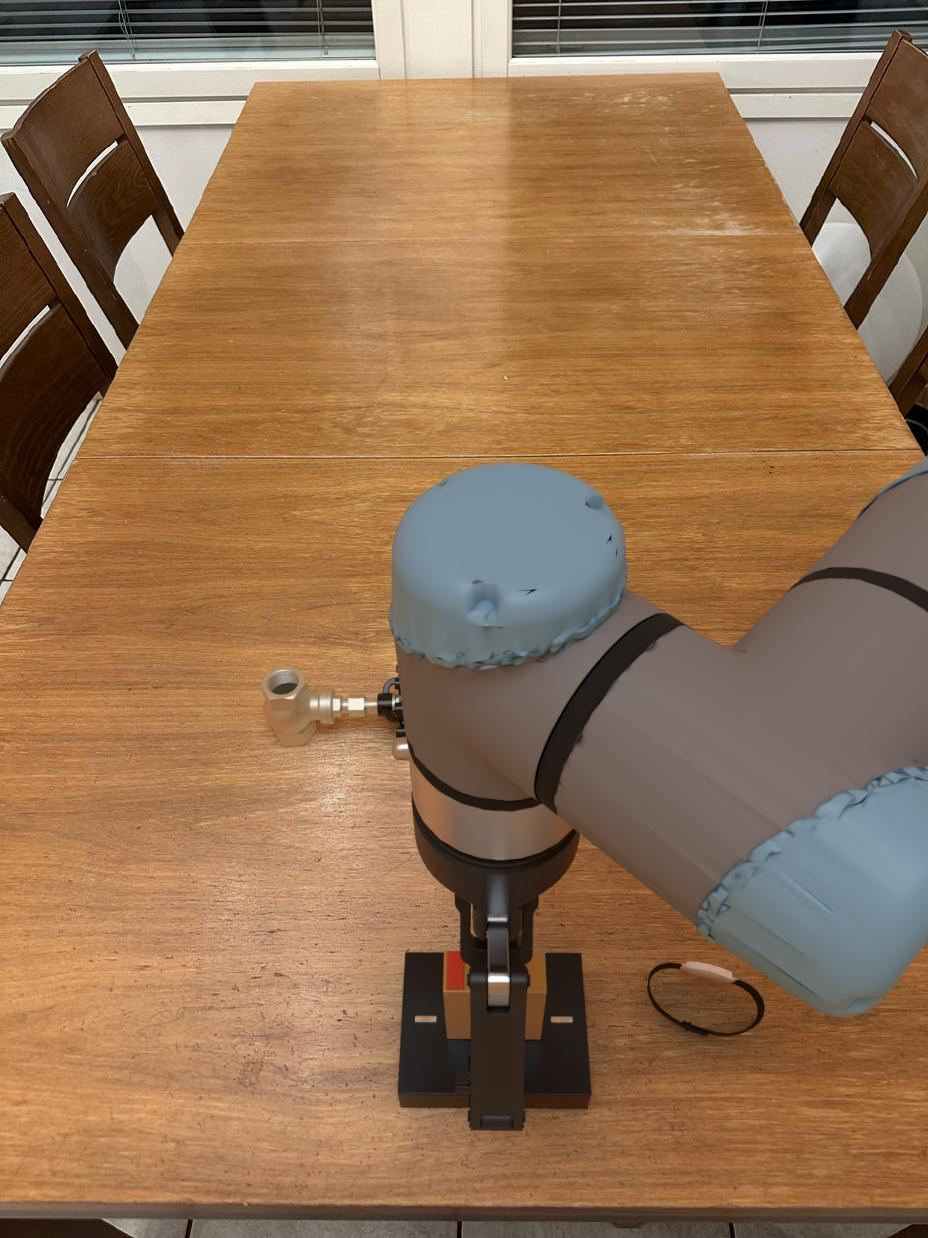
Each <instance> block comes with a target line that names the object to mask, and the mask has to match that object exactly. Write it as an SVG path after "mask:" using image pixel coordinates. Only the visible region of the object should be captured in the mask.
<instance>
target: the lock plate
mask: <svg viewBox="0 0 928 1238" xmlns="http://www.w3.org/2000/svg"><path fill="white" fill-rule="evenodd" d="M545 963H546V984H547V995H546V1003H545V1010H544V1018H543V1026H542V1033H541V1039H540V1040H536V1039H525V1063H524V1102H523V1108H524V1110H525V1109H527V1110H529V1109H531V1110H533V1109H535V1110H536V1109H539V1110H543V1109H544V1110H588V1109H589V1106H590V1103H591V1100H592V1099H591V1098H592V1096H593V1095H592V1091H593V1090H592V1081H591V1080H592V1079H591V1068H590V1067H591V1065H590V1052H589V1039H588V1037H589V1036H588V1027H587V1026H588V1025H587V1013H586V1011H587V1010H586V1000H585V984H584V972H583V971H584V970H583V957H582V952H545ZM403 964H404V966H403V968H404V969H403V982H402V984H403V985H402V1001H401V1003H402V1005H401V1018H400V1019H401V1020H400V1021H401V1022H400V1039H399V1056H398V1057H399V1058H398V1075H397V1076H398V1078H397V1098H398V1102H399V1106H400V1108H402V1109H403V1108H404V1109H406V1108H407V1109H408V1108H410V1109H412V1108H413V1109H414V1108H415V1109H469V1100H468V1093H455V1075H456V1071H460V1072H468V1055H471V1039H447V1032H446V1020H445V1008H444V997H443V973H444V951H405V952H404V963H403Z"/></svg>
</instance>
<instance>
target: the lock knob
mask: <svg viewBox="0 0 928 1238" xmlns="http://www.w3.org/2000/svg"><path fill="white" fill-rule="evenodd" d="M443 952H444V973H443V997H444V1008H445V1020H446V1032H447V1039H471V1024H470V988H469V986H467V974H469V968H470V966H469V965H468V964H466V963H465V962H463V961H462V959H461V956H460V950H444V951H443ZM545 953H546V952H545V950H533V956H532V959H531V961H530V962H529V963H527V964H526V966H527V969H528V973H529V974H530V977H531V986H530V987H528V989H527V1003H526V1024H525V1039H536V1040H540V1039H541V1033H542V1026H543V1018H544V1010H545V1003H546V995H547V984H546V963H545Z"/></svg>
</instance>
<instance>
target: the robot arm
mask: <svg viewBox="0 0 928 1238" xmlns="http://www.w3.org/2000/svg"><path fill="white" fill-rule="evenodd" d="M392 540H393V541H392V546H391V590H390V591H391V598H390V599H391V601H390V604H389V608H388V619H387V621H388V624H389V630H390V632H391V634H392V636H393V639H394V648H395V654H396V665H398V673H397V675H398V674H399V682H400V691H401V700H402V709H403V717H404V726H405V732H406V737H400V738H396V737H395V739H394V740H393V741H392V748H391V754H392V757H393V758H394V759H395V760H396V761H407V762H409V775H410V784H411V785H410V786H411V793H410V794H411V797H410V798H411V810H412V820H413V831H414V832H413V833H414V839H415V844H416V848H417V852H418V854H419V857H420V858H421V861H422V862H423V864H424V866H425V868H426V869H427V870H428V872H429V873H430V875H432V877H433V878H434V879H435V880H436V881H437V882H438V883H439V884H441V885H442V886H443V887H444V888H446V889H447V890H448V891H449V892H451V893H453V894H454V907H455V909H456V910H457V912H458V913H459V951H460V956H461V959H462V961H463V962H465V963H466V964H468V965H469V966H470V968H469V974H467V986H469V988H470V1024H471V1055H468V1072H460V1071H456V1075H455V1093H468V1100H469V1108H468V1109H467V1123H468V1124H469V1125H468V1129H470V1131H471V1132H472V1131H473V1132H474V1131H475V1132H480V1131H481V1132H484V1131H486V1132H523V1131H524V1129H525V1123H527V1114H526V1113H527V1112H526V1110H525V1109H524V1108H523V1102H524V1063H525V1024H526V1003H527V989H528V987H530V986H531V977H530V974H529V973H528V969H527V966H526V964H527V963H529V962H530V961H531V959H532V956H533V951H534V913H535V912H536V911H537V909H538V908H539V903H540V899H539V897H540V896H541V895H542V894H544V893H546V892H547V891H548V890H550V889H551V888H552V887H554V886H555V885H556V884H557V883H558V882H559V881H560V880H561V879H562V878H563V877H564V875H565V874H566V873H567V871H569V869H570V868H571V866H572V864H573V862H574V859H575V857H576V855H577V852H578V849H579V844H580V839H581V836H582V837H583V838H585V839H586V840H587V841H588V842H590V843H591V844H592V845H593V846H595V847H596V849H598V850H600V851H601V852H602V853H603V854H604V855H606V856H607V857H609V858H610V859H611V860H612V861H614V862H615V863H616V864H618V866H620V867H621V868H622V869H624V870H625V871H626V872H627V873H629V874H630V875H631V876H632V877H633V878H634V879H636V880H637V881H639V882H640V883H641V884H642V885H644V886H645V887H646V888H647V889H649V891H651V892H653V894H655V895H656V896H657V897H659V898H660V899H661V900H662V901H664V902H665V903H666V904H668V905H669V906H670V907H671V908H673V910H675V911H676V912H678V914H680V915H681V916H683V917H684V918H685V919H686V920H688V921H689V922H690V923H692V925H694V926H695V930H696V931H697V932H698V933H699V934H700V935H701V936H702V937H703V938H704V939H705V940H706V941H707V942H708V943H710V944H712V945H714V946H722V947H723V948H724V949H726V950H727V951H728V952H730V953H732V954H733V955H734V956H736V957H738V958H739V959H740V960H742V961H743V962H745V963H746V964H747V965H749V966H750V967H752V968H754V969H755V970H756V971H758V972H759V973H760V974H762V975H764V976H765V977H767V978H768V979H770V980H771V981H773V983H775V984H777V985H778V986H779V987H781V988H783V989H784V990H785V991H787V992H788V993H790V994H791V995H792V996H794V997H795V998H797V999H798V1000H800V1001H802V1002H803V1003H804V1004H806V1005H807V1006H809V1007H810V1008H811V1009H813V1010H814V1011H816V1012H819V1013H821V1014H824V1015H826V1016H828V1017H834V1018H841V1019H843V1018H844V1019H845V1018H850V1017H856V1016H861V1015H862V1014H864V1013H867V1012H869V1011H870V1010H872V1009H873V1008H875V1007H876V1006H877V1005H878V1004H879V1003H880V1002H881V1001H882V1000H883V999H884V998H885V997H886V996H887V995H888V993H889V992H890V991H891V990H892V989H893V987H894V986H895V985H896V984H897V982H898V981H900V979H901V977H902V976H903V975H904V973H906V972H907V970H908V969H909V967H910V966H911V964H912V963H913V962H914V960H915V959H916V958H917V956H918V955H919V954H920V953H921V951H922V950H923V948H924V947H925V945H927V943H928V455H926V456H924V458H922V459H920V460H919V461H918V462H916V464H914V466H912V467H911V468H910V469H908V470H907V471H906V472H905V473H904V474H902V475H901V476H900V477H897V478H896V479H894V480H892V482H890V483H889V484H887V485H886V486H884V487H883V488H882V489H881V490H879V492H878V493H876V494H875V495H874V496H873V497H872V498H871V499H870V501H869V502H868V503H867V504H866V505H865V506H864V507H863V508H862V509H861V510H860V511H859V512H858V515H857V516H856V519H855V520H854V521H853V523H852V524H851V525H850V526H849V527H848V528H847V530H845V532H843V534H842V535H841V536H840V537H839V538H838V539H837V540H836V541H835V542H834V543H833V544H832V545H831V546H830V547H829V548H828V549H827V551H825V552H824V553H823V554H822V555H821V557H820V558H819V559H818V560H817V561H816V562H815V563H814V564H813V565H812V566H811V567H810V568H809V569H808V570H807V572H805V574H804V575H803V576H802V577H801V578H799V580H798V581H797V582H796V583H794V584H793V585H792V586H791V587H790V588H789V589H788V590H787V591H786V592H785V593H784V594H782V596H781V597H780V598H779V599H778V600H777V601H775V603H774V604H773V605H772V606H771V607H770V608H769V609H768V610H767V611H766V612H765V613H764V614H763V615H762V616H761V617H760V618H759V619H758V620H757V621H756V623H754V624H753V625H752V626H751V627H750V628H749V629H748V630H747V631H746V633H744V634H743V636H741V637H740V638H739V639H738V641H736V642H735V643H734V645H733V646H731V648H729V647H727V646H725V645H723V644H721V643H719V642H717V641H715V640H713V639H711V638H709V637H707V636H706V635H703V634H701V633H700V632H698V631H696V630H695V629H694V628H693V627H692V626H690V625H688V624H686V623H684V622H683V621H681V620H679V619H677V618H676V617H675V616H673V615H672V614H670V613H668V612H667V611H666V610H663V609H662V608H660V607H659V606H657V605H655V604H653V603H652V602H651V601H649V600H647V599H645V598H644V597H642V596H640V595H639V594H637V593H635V592H634V591H632V590H630V589H629V588H627V585H628V569H629V567H630V564H629V563H628V561H627V542H626V536H625V531H624V528H623V525H622V524H621V523H620V521H619V519H618V518H617V516H616V515H615V513H614V512H613V510H612V509H611V508H610V507H609V505H608V504H607V502H606V501H605V499H604V498H603V496H602V494H601V493H600V492H599V491H598V490H597V489H595V488H594V487H593V486H592V485H590V484H588V483H587V482H585V481H584V480H582V479H580V478H579V477H576V476H575V475H572V474H570V473H568V472H566V471H563V470H560V469H558V468H554V467H551V466H548V465H547V466H546V465H541V464H537V463H528V462H512V461H511V462H510V461H508V462H507V461H506V462H495V463H494V462H493V463H487V464H481V465H476V466H472V467H471V466H470V467H467V468H465V469H462V470H460V471H457V472H454V473H452V474H449V475H448V476H445V478H443V479H442V480H440V481H439V482H437V483H436V484H435V485H434V486H431V487H429V488H427V489H426V490H425V491H424V492H422V493H421V494H420V495H419V496H418V497H416V498H415V499H414V500H413V501H412V502H411V503H410V504H409V506H408V507H407V509H406V510H405V511H404V513H403V515H402V517H401V518H400V520H399V523H398V525H397V527H396V529H395V532H394V536H393V539H392ZM472 932H473V933H474V934H472Z"/></svg>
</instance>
